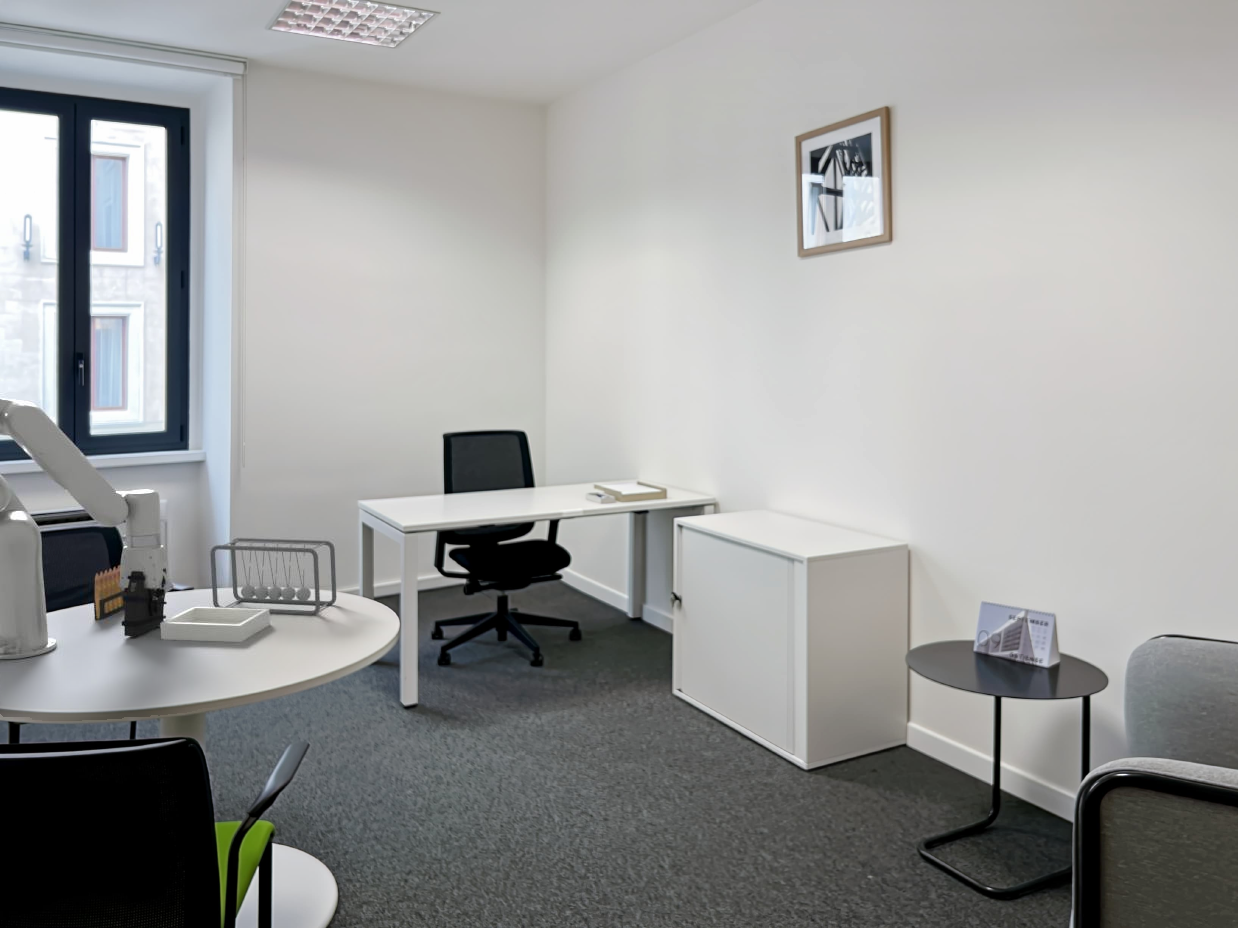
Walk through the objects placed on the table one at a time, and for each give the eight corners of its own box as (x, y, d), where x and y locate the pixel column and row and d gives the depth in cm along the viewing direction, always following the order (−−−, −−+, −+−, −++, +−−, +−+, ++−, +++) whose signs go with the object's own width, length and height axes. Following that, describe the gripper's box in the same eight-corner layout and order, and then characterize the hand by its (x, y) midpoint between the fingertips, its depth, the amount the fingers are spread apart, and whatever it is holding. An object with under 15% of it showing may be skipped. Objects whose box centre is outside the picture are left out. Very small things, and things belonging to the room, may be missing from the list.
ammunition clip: (101, 619, 232) (97, 574, 231) (94, 619, 233) (91, 573, 231) (127, 608, 243) (124, 564, 241) (121, 608, 243) (118, 564, 242)
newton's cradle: (337, 604, 246) (334, 540, 244) (319, 616, 236) (316, 548, 234) (235, 600, 251) (231, 537, 249) (212, 611, 240) (208, 545, 238)
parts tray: (240, 642, 214) (240, 625, 214) (161, 639, 217) (160, 622, 216) (270, 624, 228) (269, 609, 228) (195, 621, 230) (194, 606, 230)
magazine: (112, 633, 214) (128, 570, 219) (147, 641, 226) (161, 582, 231) (127, 634, 213) (143, 571, 218) (160, 642, 226) (175, 582, 230)
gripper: (101, 542, 218) (105, 616, 220) (166, 545, 216) (169, 620, 218) (121, 536, 226) (125, 608, 228) (185, 539, 224) (187, 611, 226)
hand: (146, 613), depth 223 cm, fingers closed on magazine, 3 cm apart
